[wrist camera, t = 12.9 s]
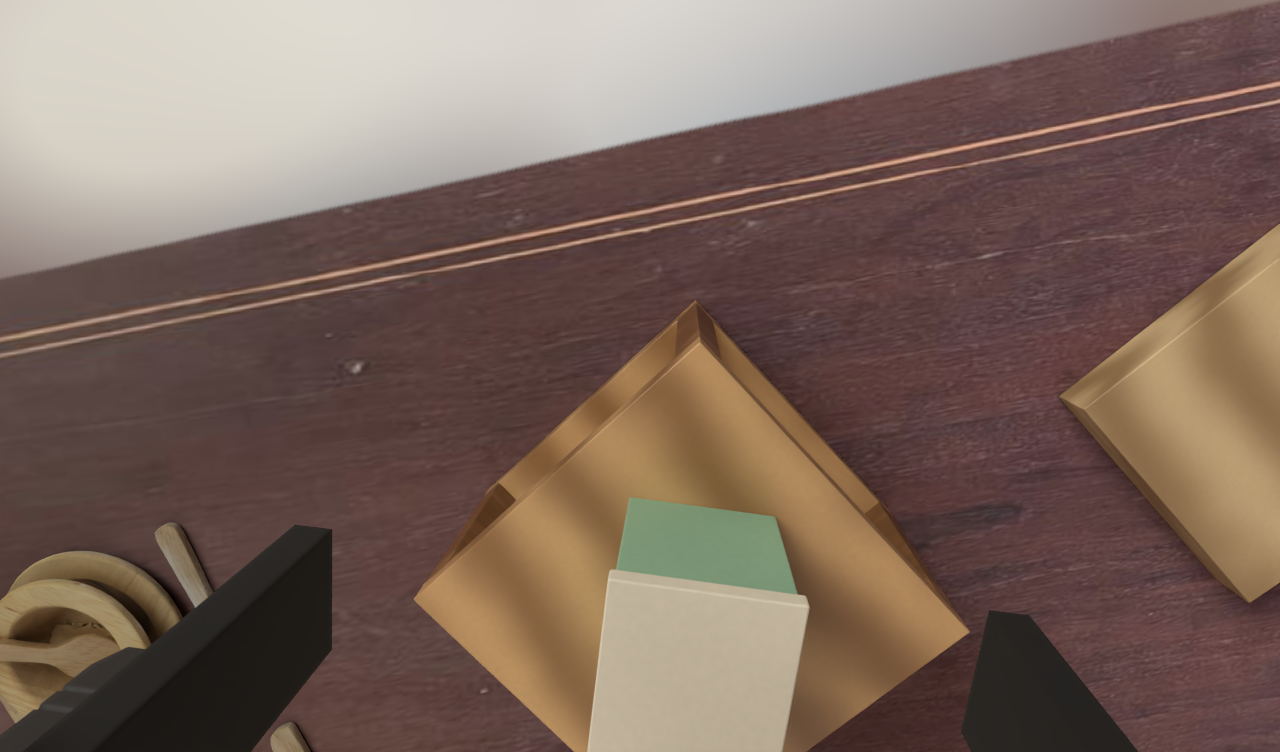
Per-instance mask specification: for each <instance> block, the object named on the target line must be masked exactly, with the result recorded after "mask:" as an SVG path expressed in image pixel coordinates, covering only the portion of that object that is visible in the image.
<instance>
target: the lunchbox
mask: <svg viewBox="0 0 1280 752" xmlns="http://www.w3.org/2000/svg"><path fill="white" fill-rule="evenodd" d="M809 609H810V607H809V603H808V600H807V597H806V596H804V595H798V593H797V590H796V586H795V583H794V579H793V576H792V572H791V569H790V565H789V562H788V558H787V555H786V551H785V548H784V545H783V541H782V538H781V534H780V531H779V527H778V524H777V520H776V517H775V516H768V515H760V514H753V513H745V512H738V511H730V510H723V509H715V508H708V507H700V506H693V505H685V504H678V503H670V502H663V501H655V500H648V499H641V498H633V497H630V498H629V502H628V508H627V513H626V518H625V524H624V529H623V535H622V540H621V545H620V551H619V556H618V561H617V567H616V570H613V569H612V570H610V572H609V576H608V582H607V590H606V598H605V607H604V615H603V624H602V632H601V640H600V649H599V657H598V665H597V674H596V682H595V690H594V699H593V707H592V716H591V724H590V732H589V741H588V749H587V752H783V747H784V742H785V737H786V731H787V726H788V721H789V715H790V710H791V705H792V700H793V694H794V689H795V684H796V678H797V673H798V668H799V662H800V657H801V652H802V646H803V641H804V636H805V631H806V625H807V620H808V615H809Z"/></svg>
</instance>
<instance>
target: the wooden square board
mask: <svg viewBox="0 0 1280 752" xmlns="http://www.w3.org/2000/svg"><path fill="white" fill-rule="evenodd" d="M1059 398H1060V399H1061V400H1062V401H1063V402H1064V403H1065V405H1066V406H1067V407H1068V408H1069V409H1070V410H1071V412H1072V413H1073V414H1074V415H1075V416H1076V417H1077V419H1078V420H1079V421H1080V422H1081V423H1082V424H1083V426H1084V427H1085V428H1086V429H1087V430H1088V431H1089V433H1090V434H1091V435H1092V436H1093V437H1094V438H1095V440H1096V441H1097V442H1098V443H1099V444H1100V445H1101V447H1102V448H1103V449H1104V450H1105V451H1106V452H1107V454H1108V455H1109V456H1110V457H1111V458H1112V459H1113V461H1114V462H1115V463H1116V464H1117V465H1118V466H1119V467H1120V469H1121V470H1122V471H1123V472H1124V473H1125V474H1126V476H1127V477H1128V478H1129V479H1130V480H1131V481H1132V483H1133V484H1134V485H1135V486H1136V487H1137V488H1138V490H1139V491H1140V492H1141V493H1142V494H1143V495H1144V497H1145V498H1146V499H1147V500H1148V501H1149V502H1150V504H1151V505H1152V506H1153V507H1154V508H1155V509H1156V511H1157V512H1158V513H1159V514H1160V515H1161V516H1162V518H1163V519H1164V520H1165V521H1166V522H1167V523H1168V525H1169V526H1170V527H1171V528H1172V529H1173V530H1174V531H1175V533H1176V534H1177V535H1178V536H1179V537H1180V538H1181V540H1182V541H1183V542H1184V543H1185V544H1186V545H1187V547H1188V548H1189V549H1190V550H1191V551H1192V552H1193V554H1194V555H1195V556H1196V557H1197V558H1198V559H1199V561H1200V562H1201V563H1202V564H1203V565H1204V566H1205V568H1206V569H1207V570H1208V571H1209V572H1210V573H1211V575H1212V576H1213V577H1214V578H1215V579H1216V580H1217V581H1219V582H1220V583H1222V584H1223V585H1225V586H1226V587H1227V588H1229V589H1230V590H1232V591H1233V592H1234V593H1236V594H1237V595H1239V596H1240V597H1241V598H1243V599H1244V600H1246V601H1247V602H1249V603H1250V602H1252V601H1253V600H1255V599H1256V598H1258V597H1259V596H1261V595H1262V594H1264V593H1265V592H1267V591H1268V590H1270V589H1271V588H1273V587H1274V586H1275V585H1277V584H1278V583H1280V224H1278V225H1277V226H1276V227H1274V228H1273V229H1272V230H1271V231H1269V232H1268V233H1267V234H1266V235H1264V236H1263V237H1262V238H1260V239H1259V240H1258V241H1257V242H1255V243H1254V244H1253V245H1251V246H1250V247H1249V248H1248V249H1246V250H1245V251H1244V252H1243V253H1241V254H1240V255H1239V256H1237V257H1236V258H1235V259H1234V260H1232V261H1231V262H1230V263H1228V264H1227V265H1226V266H1225V267H1223V268H1222V269H1221V270H1220V271H1218V272H1217V273H1216V274H1214V275H1213V276H1212V277H1211V278H1209V279H1208V280H1207V281H1205V282H1204V283H1203V284H1202V285H1200V286H1199V287H1198V288H1197V289H1195V290H1194V291H1193V292H1191V293H1190V294H1189V295H1188V296H1186V297H1185V298H1184V299H1182V300H1181V301H1180V302H1179V303H1177V304H1176V305H1175V306H1174V307H1172V308H1171V309H1170V310H1168V311H1167V312H1166V313H1165V314H1163V315H1162V316H1161V317H1159V318H1158V319H1157V320H1156V321H1154V322H1153V323H1152V324H1151V325H1149V326H1148V327H1147V328H1145V329H1144V330H1143V331H1142V332H1140V333H1139V334H1138V335H1137V336H1135V337H1134V338H1133V339H1131V340H1130V341H1129V342H1128V343H1126V344H1125V345H1124V346H1122V347H1121V348H1120V349H1119V350H1117V351H1116V352H1115V353H1114V354H1112V355H1111V356H1110V357H1108V358H1107V359H1106V360H1105V361H1103V362H1102V363H1101V364H1099V365H1098V366H1097V367H1096V368H1094V369H1093V370H1092V371H1091V372H1089V373H1088V374H1087V375H1085V376H1084V377H1083V378H1082V379H1080V380H1079V381H1078V382H1076V383H1075V384H1074V385H1073V386H1071V387H1070V388H1069V389H1068V390H1066V391H1065V392H1064V393H1062V394H1061V395H1060V396H1059Z"/></svg>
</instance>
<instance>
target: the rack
mask: <svg viewBox="0 0 1280 752" xmlns="http://www.w3.org/2000/svg"><path fill="white" fill-rule="evenodd" d="M630 497H633V498H641V499H648V500H655V501H663V502H670V503H678V504H685V505H693V506H700V507H708V508H715V509H723V510H730V511H738V512H745V513H753V514H760V515H768V516H775V517H776V520H777V524H778V527H779V531H780V534H781V538H782V541H783V545H784V548H785V551H786V555H787V558H788V562H789V565H790V569H791V572H792V576H793V579H794V583H795V586H796V590H797V593H798V595H804V596H806V597H807V600H808V603H809V607H810V609H809V615H808V620H807V625H806V631H805V636H804V641H803V646H802V652H801V657H800V662H799V668H798V673H797V678H796V684H795V689H794V694H793V700H792V705H791V710H790V715H789V721H788V726H787V731H786V737H785V742H784V747H783V752H806V751H808V750H809V749H810V748H812V747H813V746H815V745H816V744H817V743H819V742H820V741H821V740H823V739H824V738H825V737H827V736H828V735H830V734H831V733H832V732H834V731H835V730H836V729H838V728H839V727H841V726H842V725H843V724H845V723H846V722H847V721H849V720H850V719H852V718H853V717H854V716H856V715H857V714H858V713H860V712H861V711H862V710H864V709H865V708H867V707H868V706H869V705H871V704H872V703H873V702H875V701H876V700H878V699H879V698H880V697H882V696H883V695H884V694H886V693H887V692H888V691H890V690H891V689H893V688H894V687H895V686H897V685H898V684H899V683H901V682H902V681H904V680H905V679H906V678H908V677H909V676H910V675H912V674H913V673H914V672H916V671H917V670H919V669H920V668H921V667H923V666H924V665H925V664H927V663H928V662H930V661H931V660H932V659H934V658H935V657H936V656H938V655H939V654H940V653H942V652H943V651H945V650H946V649H947V648H949V647H950V646H951V645H953V644H954V643H956V642H957V641H958V640H960V639H961V638H962V637H964V636H965V635H966V634H968V633H969V630H968V628H967V627H966V625H965V624H964V622H963V621H962V619H961V618H960V616H959V615H958V613H957V612H956V610H955V609H954V607H953V606H952V604H951V603H950V601H949V600H948V598H947V597H946V595H945V594H944V592H943V591H942V589H941V588H940V586H939V585H938V583H937V582H936V580H935V579H934V577H933V576H932V574H931V573H930V571H929V570H928V568H927V567H926V565H925V564H924V562H923V561H922V559H921V558H920V556H919V555H918V553H917V552H916V550H915V549H914V547H913V546H912V544H911V543H910V541H909V540H908V538H907V537H906V535H905V534H904V532H903V531H902V529H901V527H900V526H899V524H898V523H897V521H896V520H895V518H894V517H893V515H892V514H891V512H890V511H889V509H888V508H887V507H886V506H885V505H884V504H883V503H882V502H881V501H880V500H879V498H878V497H877V496H876V495H875V494H874V493H873V492H872V491H871V490H870V489H869V488H868V487H867V485H866V484H865V483H864V482H863V481H862V480H861V479H860V478H859V477H858V476H857V475H856V474H855V472H854V471H853V470H852V469H851V468H850V467H849V466H848V465H847V464H846V463H845V462H844V461H843V459H842V458H841V457H840V456H839V455H838V454H837V453H836V452H835V451H834V450H833V449H832V448H831V446H830V445H829V444H828V443H827V442H826V441H825V440H824V439H823V438H822V437H821V436H820V434H819V433H818V432H817V431H816V430H815V429H814V428H813V427H812V426H811V425H810V424H809V423H808V421H807V420H806V419H805V418H804V417H803V416H802V415H801V414H800V413H799V412H798V411H797V410H796V408H795V407H794V406H793V405H792V404H791V403H790V402H789V401H788V400H787V399H786V398H785V397H784V395H783V394H782V393H781V392H780V391H779V390H778V389H777V388H776V387H775V386H774V385H773V384H772V382H771V381H770V380H769V379H768V378H767V377H766V376H765V375H764V374H763V373H762V372H761V371H760V369H759V368H758V367H757V366H756V365H755V364H754V363H753V362H752V361H751V360H750V359H749V357H748V356H747V355H746V354H745V353H744V352H743V351H742V350H741V349H740V348H739V347H738V346H737V344H736V343H735V342H734V341H733V340H732V339H731V338H730V337H729V336H728V335H727V334H726V333H725V331H724V330H723V329H722V328H721V327H720V326H719V325H718V324H717V323H716V322H715V321H714V320H713V318H712V317H711V316H710V315H709V314H708V313H707V312H706V311H705V310H704V309H703V308H702V307H701V305H700V304H699V303H698V302H697V301H694V302H693V303H692V304H691V305H690V306H689V307H688V308H686V309H685V310H684V311H683V312H682V313H681V314H680V315H679V316H678V317H677V318H675V319H674V320H673V321H672V322H671V323H670V324H669V325H668V326H667V327H666V328H665V329H663V330H662V331H661V332H660V333H659V334H658V335H657V336H656V337H655V338H654V339H652V340H651V341H650V342H649V343H648V344H647V345H646V346H645V347H644V348H643V349H642V350H640V351H639V352H638V353H637V354H636V355H635V356H634V357H633V358H632V359H631V360H629V361H628V362H627V363H626V364H625V365H624V366H623V367H622V368H621V369H620V370H619V371H617V372H616V373H615V374H614V375H613V376H612V377H611V378H610V379H609V380H608V381H607V382H605V383H604V384H603V385H602V386H601V387H600V388H599V389H598V390H597V391H596V392H594V393H593V394H592V395H591V396H590V397H589V398H588V399H587V400H586V401H585V402H584V403H582V404H581V405H580V406H579V407H578V408H577V409H576V410H575V411H574V412H573V413H571V414H570V415H569V416H568V417H567V418H566V419H565V420H564V421H563V422H562V423H561V424H559V425H558V426H557V427H556V428H555V429H554V430H553V431H552V432H551V433H550V434H548V435H547V436H546V437H545V438H544V439H543V440H542V441H541V442H540V443H539V444H538V445H536V446H535V447H534V448H533V449H532V450H531V451H530V452H529V453H528V454H527V455H525V456H524V457H523V458H522V459H521V460H520V461H519V462H518V463H517V464H516V465H515V466H513V467H512V468H511V469H510V470H509V471H508V472H507V473H506V474H505V475H504V476H502V477H501V478H500V479H499V480H498V481H497V482H496V483H495V484H494V485H493V486H492V487H490V488H489V490H488V491H487V492H486V494H485V495H484V497H483V498H482V500H481V501H480V503H479V504H478V506H477V507H476V509H475V510H474V512H473V513H472V514H471V516H470V517H469V519H468V520H467V522H466V523H465V525H464V526H463V528H462V529H461V531H460V532H459V534H458V535H457V536H456V538H455V539H454V541H453V542H452V544H451V545H450V547H449V548H448V550H447V551H446V553H445V554H444V556H443V557H442V558H441V560H440V561H439V563H438V564H437V566H436V567H435V569H434V570H433V572H432V573H431V575H430V576H429V578H428V579H427V580H426V582H425V583H424V585H423V586H422V588H421V589H420V591H419V592H418V594H417V595H416V597H415V598H414V601H415V602H417V603H418V604H419V605H420V606H421V607H422V608H423V609H424V610H425V611H426V612H427V613H428V614H429V615H430V616H431V617H432V618H433V619H434V620H436V621H437V622H438V623H439V624H440V625H441V626H442V627H443V628H444V629H445V630H446V631H447V632H448V633H449V634H450V635H451V636H452V637H453V638H455V639H456V640H457V641H458V642H459V643H460V644H461V645H462V646H463V647H464V648H465V649H466V650H467V651H468V652H469V653H470V654H471V655H472V656H474V657H475V658H476V659H477V660H478V661H479V662H480V663H481V664H482V665H483V666H484V667H485V668H486V669H487V670H488V671H489V672H490V673H492V674H493V675H494V676H495V677H496V678H497V679H498V680H499V681H500V682H501V683H502V684H503V685H504V686H505V687H506V688H507V689H508V690H509V691H511V692H512V693H513V694H514V695H515V696H516V697H517V698H518V699H519V700H520V701H521V702H522V703H523V704H524V705H525V706H526V707H527V708H528V709H530V710H531V711H532V712H533V713H534V714H535V715H536V716H537V717H538V718H539V719H540V720H541V721H542V722H543V723H544V724H545V725H546V726H548V727H549V728H550V729H551V730H552V731H553V732H554V733H555V734H556V735H557V736H558V737H559V738H560V739H561V740H562V741H563V742H564V743H565V744H567V745H568V746H569V747H570V748H571V749H572V750H573V751H574V752H587V749H588V741H589V732H590V724H591V716H592V707H593V699H594V690H595V682H596V674H597V665H598V657H599V649H600V640H601V632H602V624H603V615H604V607H605V598H606V590H607V582H608V576H609V572H610V570H612V569H613V570H616V567H617V561H618V556H619V551H620V545H621V540H622V535H623V529H624V524H625V518H626V513H627V508H628V502H629V498H630Z"/></svg>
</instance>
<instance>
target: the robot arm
mask: <svg viewBox="0 0 1280 752" xmlns="http://www.w3.org/2000/svg"><path fill="white" fill-rule="evenodd" d="M331 650H332V529H325V528H317V527H309V526H301V525H294V526H293V527H292V528H291V529H289V530H288V531H287V532H286V533H285V534H283V535H282V536H281V537H280V538H279V539H277V540H276V541H275V542H274V543H273V544H271V545H270V546H269V547H268V548H267V549H265V550H264V551H263V552H262V553H261V554H259V555H258V556H257V557H256V558H255V559H253V560H252V561H251V562H250V563H249V564H247V565H246V566H245V567H244V568H243V569H241V570H240V571H239V572H238V573H237V574H235V575H234V576H233V577H232V578H231V579H229V580H228V581H227V582H226V583H225V584H223V585H222V586H221V587H220V588H219V589H217V590H216V591H215V592H214V593H213V594H211V595H210V596H209V597H208V598H207V599H205V600H204V601H203V602H202V603H201V604H199V605H198V606H197V607H196V608H195V609H193V610H192V611H191V612H190V613H188V614H187V615H186V616H185V617H184V618H182V619H181V620H180V621H179V622H178V623H176V624H175V625H174V626H173V627H172V628H170V629H169V630H168V631H167V632H166V633H164V634H163V635H162V636H161V637H160V638H158V639H157V640H156V641H155V642H154V643H152V644H151V645H150V646H149V647H148V648H146V649H141V648H134V647H126V648H124V649H122V650H120V651H118V652H116V653H114V654H112V655H110V656H108V657H105V658H103V659H101V660H99V661H97V662H95V663H93V664H91V665H90V666H89V667H87V668H86V669H85V670H83V671H82V672H81V673H80V674H78V675H77V676H76V677H74V678H73V679H72V680H71V681H69V682H68V683H67V684H65V685H64V686H63V689H62V691H57V692H55V693H54V694H53V695H51V696H50V697H49V698H48V699H46V700H45V701H44V702H42V703H41V704H40V707H39V709H38V710H36V709H34V710H32V711H31V712H30V713H28V714H27V715H26V716H25V717H23V718H22V719H21V720H19V721H18V722H17V723H16V724H14V725H13V726H12V727H10V728H9V729H8V730H7V731H5V732H4V733H3V734H2V735H0V752H251V751H252V749H253V748H254V747H255V746H256V744H257V743H258V742H259V741H260V739H261V738H262V737H263V736H264V734H265V733H266V732H267V731H268V729H269V728H270V727H271V725H272V724H273V723H274V722H275V720H276V719H277V718H278V717H279V715H280V714H281V713H282V712H283V710H284V709H285V708H286V707H287V705H288V704H289V703H290V701H291V700H292V699H293V698H294V696H295V695H296V694H297V693H298V691H299V690H300V689H301V688H302V686H303V685H304V684H305V683H306V681H307V680H308V679H309V678H310V676H311V675H312V674H313V672H314V671H315V670H316V669H317V667H318V666H319V665H320V664H321V662H322V661H323V660H324V659H325V657H326V656H327V655H328V654H329V652H330V651H331ZM961 732H962V734H963V736H964V738H965V740H966V742H967V744H968V746H969V748H970V750H971V752H1138V751H1137V750H1136V748H1135V747H1134V746H1133V745H1132V743H1131V742H1130V741H1129V740H1128V738H1127V737H1126V736H1125V735H1124V733H1123V732H1122V731H1121V730H1120V728H1119V727H1118V726H1117V725H1116V723H1115V722H1114V721H1113V720H1112V718H1111V717H1110V716H1109V715H1108V713H1107V712H1106V711H1105V710H1104V708H1103V707H1102V706H1101V705H1100V703H1099V702H1098V701H1097V700H1096V698H1095V697H1094V696H1093V695H1092V693H1091V692H1090V691H1089V690H1088V688H1087V687H1086V686H1085V685H1084V683H1083V682H1082V681H1081V680H1080V678H1079V677H1078V676H1077V675H1076V673H1075V672H1074V671H1073V670H1072V668H1071V667H1070V666H1069V665H1068V663H1067V662H1066V661H1065V660H1064V658H1063V657H1062V656H1061V655H1060V653H1059V652H1058V651H1057V650H1056V648H1055V647H1054V646H1053V645H1052V643H1051V642H1050V641H1049V640H1048V638H1047V637H1046V636H1045V635H1044V633H1043V632H1042V631H1041V630H1040V628H1039V627H1038V626H1037V625H1036V623H1035V622H1034V621H1033V620H1032V618H1031V617H1030V616H1029V615H1023V614H1014V613H1006V612H998V611H990V610H989V614H988V618H987V622H986V626H985V631H984V635H983V639H982V644H981V648H980V652H979V656H978V661H977V665H976V669H975V674H974V678H973V682H972V686H971V691H970V695H969V699H968V704H967V708H966V712H965V716H964V721H963V725H962V729H961Z"/></svg>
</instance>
